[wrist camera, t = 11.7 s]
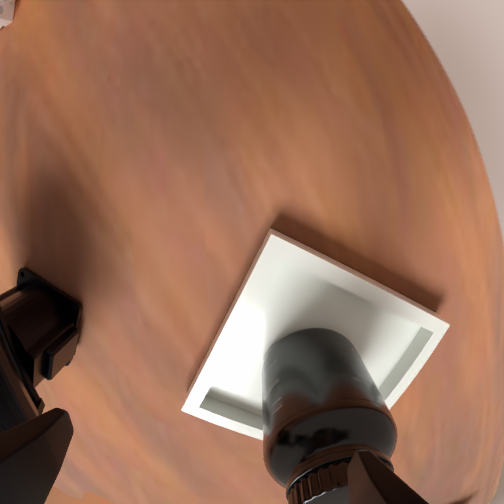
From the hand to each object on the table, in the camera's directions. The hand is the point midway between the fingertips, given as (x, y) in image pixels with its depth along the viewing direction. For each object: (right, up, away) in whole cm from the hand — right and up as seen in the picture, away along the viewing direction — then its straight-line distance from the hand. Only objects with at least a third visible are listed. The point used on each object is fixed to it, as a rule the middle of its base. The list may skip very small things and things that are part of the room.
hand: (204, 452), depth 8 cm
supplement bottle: (+5, -2, +13) cm, 15 cm away
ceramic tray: (+6, -2, +14) cm, 15 cm away
